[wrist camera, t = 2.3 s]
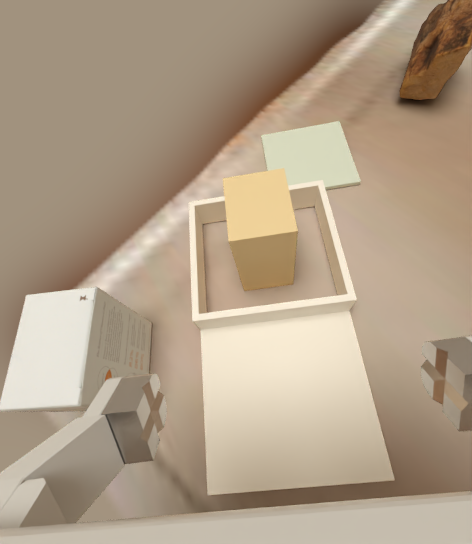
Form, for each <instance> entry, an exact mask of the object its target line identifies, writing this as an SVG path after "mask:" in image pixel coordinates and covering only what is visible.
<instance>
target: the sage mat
mask: <svg viewBox="0 0 472 544" xmlns="http://www.w3.org/2000/svg"><path fill="white" fill-rule="evenodd" d="M261 138H262V144H263V149H264V155H265V160H266V166H267V171H270V170H275V169H281V168H284V169H285V174H286V179H287V183H288V186H289V185H295V184H301V183H307V182H313V181H319V180H323V182H324V186H325V189H326V190H329V189H335V188H341V187H348V186H354V185H360V182H361V181H360V178H359V175H358V172H357V170H356V167H355V164H354V161H353V158H352V155H351V153H350V150H349V147H348V144H347V141H346V138H345V136H344V133H343V130H342V127H341V124H340V121H338V122H332V123H327V124H321V125H316V126H310V127H305V128H299V129H294V130H288V131H283V132H277V133H272V134H266V135H261Z"/></svg>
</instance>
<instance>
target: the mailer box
mask: <svg viewBox="0 0 472 544" xmlns="http://www.w3.org/2000/svg"><path fill="white" fill-rule="evenodd" d="M288 188H289V193H290V197H291V202H292V207H293V210H295V209H301V208H307V207H313V206H315V209H316V213H317V217H318V221H319V225H320V229H321V233H322V237H323V241H324V245H325V248H326V252H327V256H328V260H329V264H330V268H331V272H332V276H333V280H334V284H335V288H336V292H337V295H338V296H330V297H323V298H315V299H308V300H300V301H293V302H285V303H278V304H270V305H263V306H255V307H248V308H240V309H232V310H225V311H217V312H210V313H207V304H206V285H205V266H204V246H203V227H202V224H206V223H213V222H219V221H225V220H227V218H226V208H225V197H224V196H222V197H216V198H210V199H204V200H198V201H192V202H189V224H190V258H191V291H192V321H193V322H194V323H195V324H196V325H197V326H198V327H199V328H200V329H201V349H202V373H203V397H204V421H205V445H206V469H207V493H208V495H217V494H230V493H242V492H255V491H267V490H280V489H292V488H305V487H317V486H330V485H342V484H355V483H368V482H380V481H393V480H395V479H394V475H393V471H392V468H391V464H390V460H389V456H388V453H387V449H386V445H385V441H384V438H383V434H382V430H381V426H380V423H379V419H378V415H377V412H376V408H375V404H374V400H373V397H372V393H371V389H370V385H369V382H368V378H367V374H366V370H365V367H364V363H363V359H362V355H361V352H360V348H359V344H358V341H357V337H356V333H355V329H354V326H353V322H352V318H351V314H350V309H351V308H352V306H353V305H354V303H355V302H356V300H357V299H356V295H355V292H354V288H353V285H352V281H351V278H350V274H349V271H348V267H347V264H346V260H345V257H344V253H343V250H342V246H341V242H340V239H339V235H338V232H337V228H336V225H335V221H334V218H333V214H332V211H331V207H330V204H329V200H328V197H327V193H326V189H325V186H324V182H323V180H319V181H313V182H307V183H301V184H295V185H289V186H288Z"/></svg>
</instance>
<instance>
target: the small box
mask: <svg viewBox="0 0 472 544" xmlns="http://www.w3.org/2000/svg"><path fill="white" fill-rule="evenodd" d="M151 329H152V323H151V322H150V321H148V320H147V319H145V318H143V317H142V316H140V315H139V314H137V313H136V312H134V311H133V310H131V309H130V308H128V307H127V306H125V305H124V304H122V303H121V302H119V301H118V300H116V299H115V298H113V297H112V296H110V295H109V294H107V293H106V292H104V291H102V290H101V289H99V288H98V287H93V288H84V289H75V290H66V291H59V292H58V291H57V292H49V293H40V294H33V295H27V296H26V298H25V303H24V306H23V311H22V315H21V319H20V323H19V327H18V331H17V335H16V339H15V343H14V348H13V351H12V356H11V360H10V364H9V368H8V372H7V376H6V380H5V384H4V389H3V393H2V396H1V400H0V412H42V411H46V412H64V411H87V409H88V407H89V406H90V404H91V403H92V401H93V400H94V398H95V397H96V395H97V394H98V392H99V390H100V389H101V387H102V386H103V384H104V383H105V381H106V380H107V379H109V378H113V377H122V376H124V377H125V376H132V375H142V374H149V366H150V347H151Z"/></svg>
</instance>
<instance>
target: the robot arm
mask: <svg viewBox="0 0 472 544" xmlns="http://www.w3.org/2000/svg"><path fill="white" fill-rule="evenodd" d="M422 355H423V356H424V357H425V358H426V359H427V360H426V361H425V362H424V364H423V365H422V366H421V378H422V381H423V385H424V387H425V389H426V391H427V393H428V394H429V395H430V397H431V398H432V399H433V400H435V401H437V402H439V403H441V404H443V413H444V414H445V415H446V416H447V418H448V419H449V420H450V421H451V422H452V424H453V425H454V426H455V427H456V429H457V430H458V431H472V335H469V336H462V337H459V338H451V339H443V340H435V341H427V342H424V344H423V346H422ZM159 387H160V381H159V378H158V375H156V374H155V373H153V374H142V375H132V376H125V377H124V376H122V377H113V378H109V379H107V380H106V381H105V383H104V384H103V386H102V387H101V389H100V390H99V392H98V394H97V395H96V397H95V398H94V400H93V401H92V403H91V404H90V406H89V407H88V409H87V411H86V412H85V414H84V415H83V417H79V418H76V419H75V420H73V421H72V422H71V423H69V424H68V425H66V426H65V427H64V428H62V429H61V430H59V431H58V432H57V433H55V434H54V435H52V436H51V437H50V438H49V439H47V440H46V441H44V442H43V443H41V444H40V445H39V446H37V447H36V448H35V449H33V450H32V451H30V452H29V453H27V454H26V455H24V456H23V457H22V458H20V459H19V460H17V461H16V462H15V463H13V464H12V465H10V466H9V467H8V468H6V469H5V470H4V471H2V472H1V473H0V544H472V491H461V492H449V493H437V494H424V495H412V496H400V497H387V498H375V499H363V500H351V501H338V502H326V503H314V504H302V505H289V506H277V507H265V508H252V509H240V510H228V511H216V512H203V513H191V514H179V515H167V516H154V517H142V518H130V519H118V520H106V521H94V522H81V523H76V522H77V521H78V520H79V519H80V518H81V516H82V515H83V514H84V513H85V512H86V511H87V509H88V508H89V507H90V506H91V505H92V503H93V502H94V501H95V500H96V499H97V498H98V497H99V495H100V494H101V493H102V492H103V491H104V490H105V488H106V487H107V486H108V485H109V484H110V483H111V481H112V480H113V479H114V478H115V477H116V476H117V474H118V473H119V472H120V471H121V470H122V469H123V467H124V466H125V465H124V464H131V463H139V462H146V461H153V460H154V457H155V454H156V451H157V448H158V444H159V441H160V439H159V436H158V432H159V431H160V430H162V429H163V428H164V424H165V421H166V412H167V408H166V401H165V397H164V395H163V394H162V393H160V392H159V391H158V390H159Z"/></svg>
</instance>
